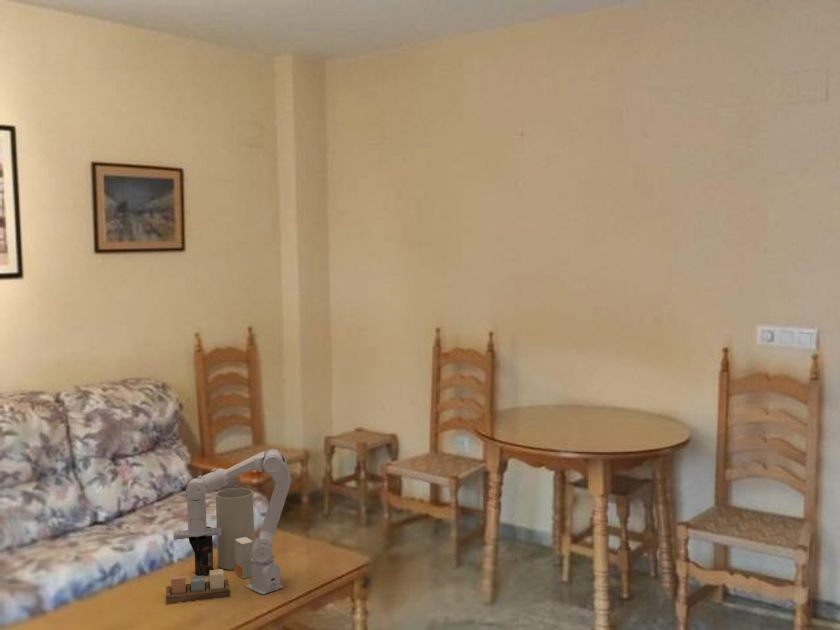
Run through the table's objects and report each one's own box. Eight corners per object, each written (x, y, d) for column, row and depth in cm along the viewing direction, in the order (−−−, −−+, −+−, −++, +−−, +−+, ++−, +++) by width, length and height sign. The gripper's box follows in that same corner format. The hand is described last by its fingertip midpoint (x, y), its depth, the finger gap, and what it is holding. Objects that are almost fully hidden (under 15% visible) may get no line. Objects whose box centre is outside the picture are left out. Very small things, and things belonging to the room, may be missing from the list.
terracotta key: (185, 592, 256) (185, 577, 255) (171, 594, 254) (171, 579, 254) (185, 587, 260) (185, 573, 259) (171, 589, 258) (171, 574, 258)
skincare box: (235, 574, 276) (234, 539, 275) (246, 571, 279) (245, 536, 278) (242, 579, 271) (242, 543, 270) (254, 576, 274) (253, 541, 273)
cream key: (224, 587, 259) (223, 573, 258) (210, 589, 258) (209, 575, 257) (223, 583, 263) (222, 568, 262) (209, 584, 262) (209, 570, 261)
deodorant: (208, 576, 274) (207, 532, 273) (191, 575, 275) (190, 531, 274) (216, 570, 280) (215, 526, 279) (200, 569, 281) (198, 525, 280)
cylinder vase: (262, 561, 287) (260, 491, 286) (236, 573, 277) (234, 500, 275) (236, 555, 294) (234, 486, 292) (209, 566, 283) (207, 494, 282)
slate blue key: (205, 594, 257) (204, 580, 257) (191, 596, 256) (190, 581, 256) (204, 589, 261) (204, 575, 261) (191, 591, 260) (190, 576, 260)
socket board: (229, 596, 257) (229, 589, 257) (166, 604, 252) (166, 597, 252) (228, 586, 266) (228, 579, 266) (166, 593, 260) (166, 586, 260)
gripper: (219, 511, 266) (220, 552, 267) (172, 516, 262) (174, 557, 262) (221, 517, 259) (222, 560, 260) (173, 522, 255) (174, 565, 256)
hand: (198, 559), depth 261 cm, fingers closed
